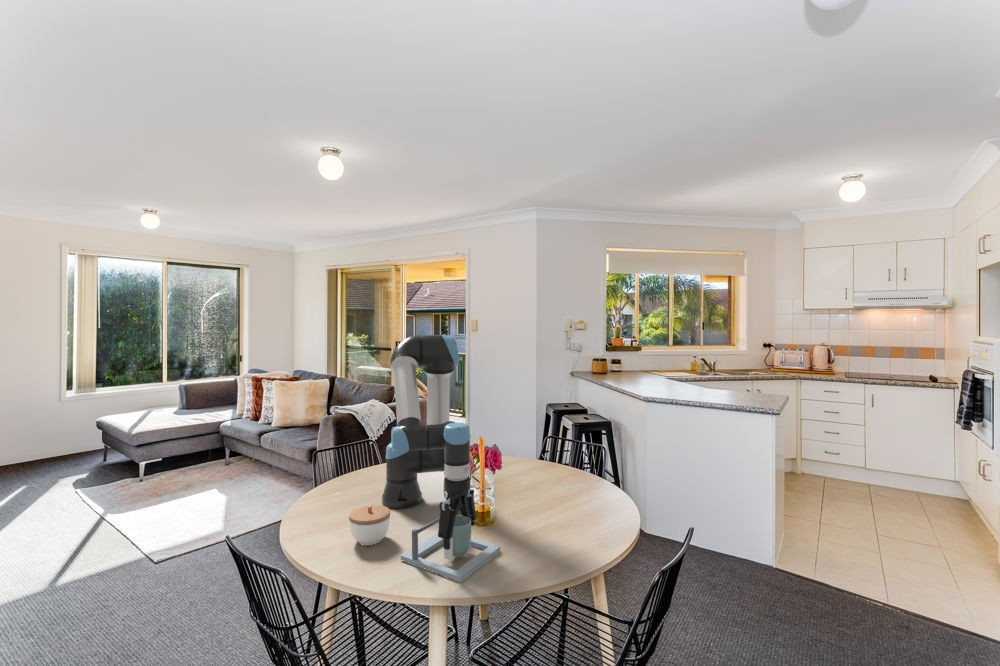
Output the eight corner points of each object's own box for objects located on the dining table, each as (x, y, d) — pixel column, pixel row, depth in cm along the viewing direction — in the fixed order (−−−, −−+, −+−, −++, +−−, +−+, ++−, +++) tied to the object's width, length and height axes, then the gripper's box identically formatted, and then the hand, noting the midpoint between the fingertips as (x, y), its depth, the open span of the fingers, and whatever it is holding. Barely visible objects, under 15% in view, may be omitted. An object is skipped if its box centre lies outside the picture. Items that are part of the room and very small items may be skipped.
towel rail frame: (400, 560, 142) (400, 526, 141) (443, 533, 159) (443, 503, 158) (460, 582, 130) (460, 546, 130) (500, 551, 147) (500, 519, 146)
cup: (467, 561, 138) (466, 527, 138) (441, 559, 140) (440, 525, 140) (474, 548, 146) (473, 516, 146) (449, 546, 148) (449, 514, 147)
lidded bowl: (369, 554, 146) (368, 518, 145) (341, 543, 152) (340, 509, 152) (398, 537, 156) (398, 503, 156) (371, 528, 163) (370, 496, 162)
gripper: (445, 490, 131) (445, 572, 132) (487, 469, 149) (488, 541, 150) (423, 485, 135) (424, 564, 136) (467, 464, 153) (468, 535, 154)
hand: (457, 552), depth 143 cm, fingers open, 8 cm apart
